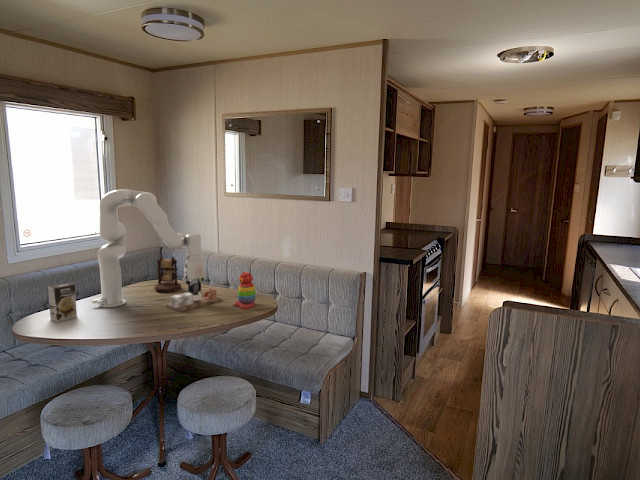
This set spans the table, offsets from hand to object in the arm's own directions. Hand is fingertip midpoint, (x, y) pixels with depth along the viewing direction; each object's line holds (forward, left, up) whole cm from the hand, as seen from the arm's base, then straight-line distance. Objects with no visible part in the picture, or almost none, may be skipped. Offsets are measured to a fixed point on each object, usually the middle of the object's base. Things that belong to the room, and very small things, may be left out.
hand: (194, 291), depth 224 cm
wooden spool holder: (+4, +34, -7) cm, 35 cm away
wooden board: (-1, 0, -7) cm, 7 cm away
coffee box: (-55, +24, -7) cm, 60 cm away
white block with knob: (-4, 0, -5) cm, 6 cm away
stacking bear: (+16, -22, -7) cm, 28 cm away
